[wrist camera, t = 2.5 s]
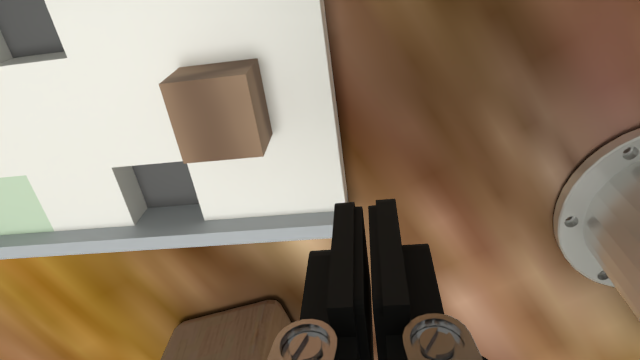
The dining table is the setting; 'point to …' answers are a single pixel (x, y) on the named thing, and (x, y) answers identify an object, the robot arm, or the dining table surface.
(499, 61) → the dining table surface
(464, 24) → the dining table surface
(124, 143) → the trap box
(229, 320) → the block
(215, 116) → the walnut block
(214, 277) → the dining table surface
